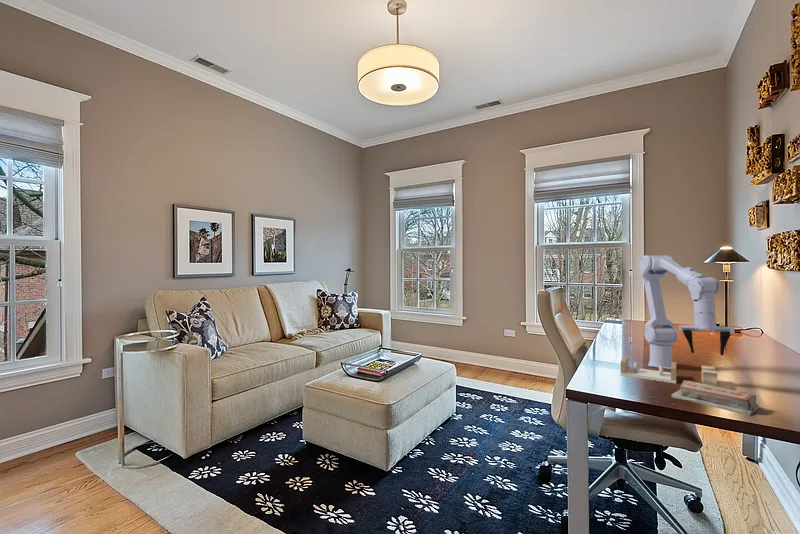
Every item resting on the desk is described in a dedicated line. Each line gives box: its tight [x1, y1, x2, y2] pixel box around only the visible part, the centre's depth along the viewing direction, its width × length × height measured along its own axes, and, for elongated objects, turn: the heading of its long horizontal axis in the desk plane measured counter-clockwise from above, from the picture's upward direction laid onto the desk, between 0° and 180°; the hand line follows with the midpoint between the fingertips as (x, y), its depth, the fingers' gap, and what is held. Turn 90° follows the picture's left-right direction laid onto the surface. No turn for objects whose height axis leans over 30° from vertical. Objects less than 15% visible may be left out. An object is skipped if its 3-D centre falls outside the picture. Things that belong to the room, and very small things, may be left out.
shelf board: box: [701, 365, 718, 387], centre depth 127 cm, size 11×4×5 cm, turn 144°
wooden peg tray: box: [620, 355, 677, 384], centre depth 137 cm, size 11×16×5 cm
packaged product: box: [670, 379, 760, 416], centre depth 110 cm, size 18×5×10 cm
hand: (707, 353), depth 127 cm, fingers open, 7 cm apart
